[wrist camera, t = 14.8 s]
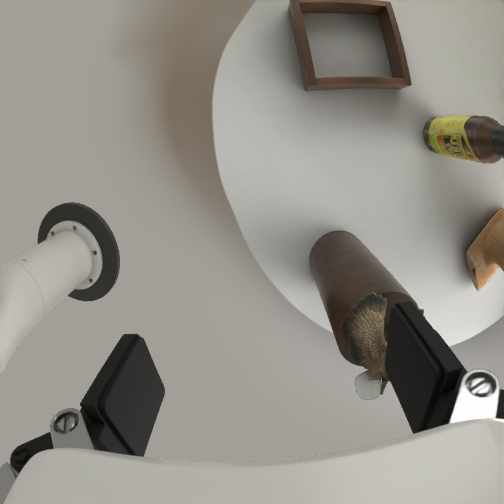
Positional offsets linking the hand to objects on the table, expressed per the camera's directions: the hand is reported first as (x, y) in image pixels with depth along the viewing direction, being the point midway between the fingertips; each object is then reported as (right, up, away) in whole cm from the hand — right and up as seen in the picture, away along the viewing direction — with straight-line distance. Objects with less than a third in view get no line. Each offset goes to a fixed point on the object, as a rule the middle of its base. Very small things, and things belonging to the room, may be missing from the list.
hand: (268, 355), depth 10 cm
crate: (+13, +34, +24) cm, 43 cm away
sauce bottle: (+29, +22, +28) cm, 46 cm away
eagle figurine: (+12, -4, +17) cm, 21 cm away
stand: (+13, +3, +35) cm, 37 cm away
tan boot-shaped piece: (+43, +6, +33) cm, 55 cm away
